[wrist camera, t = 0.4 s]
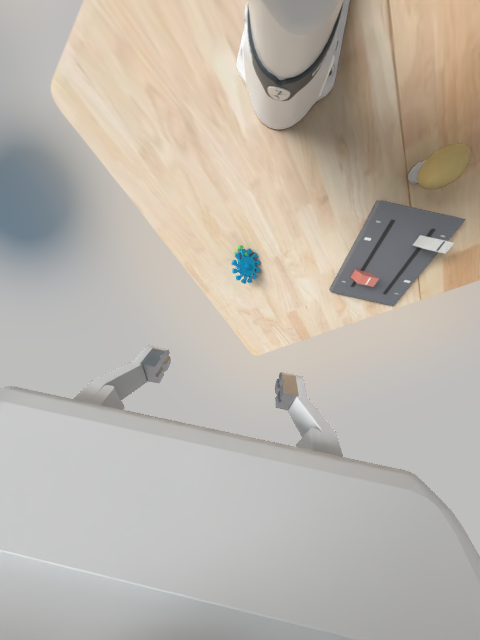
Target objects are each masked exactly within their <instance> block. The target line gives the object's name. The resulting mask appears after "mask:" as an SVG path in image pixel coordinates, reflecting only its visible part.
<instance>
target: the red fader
mask: <svg viewBox="0 0 480 640" xmlns="http://www.w3.org/2000/svg"><path fill="white" fill-rule="evenodd" d="M351 278H352V279H353V280H354V281H355V282H356V283H358V284H362V285H367V286H371V287H374V285H375V284H376V282H377V281H378V280H379V278H377V277H376V276H374V275H373V274H371V273H370V272H365V271H361V270H356V269H355V270H354V272H353V274H352V275H351Z"/></svg>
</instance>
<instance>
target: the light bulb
mask: <svg viewBox="0 0 480 640" xmlns="http://www.w3.org/2000/svg"><path fill="white" fill-rule="evenodd" d="M470 158H471V149H470V148H469V147H468V146H467V145H464V144H452V145H448V146H446V147H443V148H441V149H439V150H438V151H436V152H435V153H433V154H432V155H431V156H430V157H429V158H428V159H427V160H425V161H422V162H419V163H417V164H416V165H415V166H414V167H413V168H412V169H411V170H410V172H409V174H408V181H409V182H410V183H412V184H415V183H419V184H420V186H421V187H423V188H425V189H437V188H441V187H443V186H446V185H448V184H449V183H451V182H453V181H454V180H456V179H457V178H458V177H459V176H460V175H461V174H462V173H463V172H464V171H465V169H466V167H467V166H468V164H469V161H470Z"/></svg>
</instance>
